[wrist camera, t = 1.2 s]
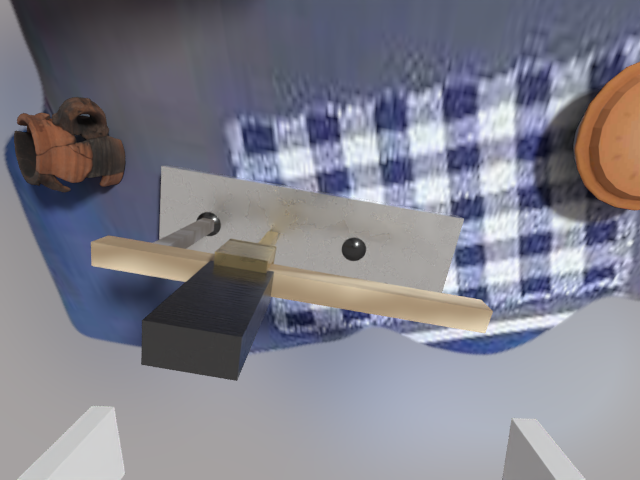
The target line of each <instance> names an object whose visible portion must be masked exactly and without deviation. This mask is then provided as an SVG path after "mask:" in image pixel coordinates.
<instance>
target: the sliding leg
mask: <svg viewBox="0 0 640 480" xmlns="http://www.w3.org/2000/svg"><path fill="white" fill-rule="evenodd" d="M277 238H278V232H272V231H268V232H267V233H266V234H265V236H264V237H263V238H262V239H261V240H260V242H259V243H254V242H248V241H243V240H237V239H229V240H228V241H227V242H226V243H225V244H224V245H222V246H221V247H220V248H219V249H218V250H216V251H215V256H214V261H209V262H208V263H207V264H206V265H205V266H203V267H202V268H201V269H200V270H199V271H198V272H197V273H195V274H194V275H193V276H192V277H191V278H190V279H189V280H187V281H186V282H185V283H184V284H183V285H182V286H181V287H180V288H178V289H177V290H176V291H175V292H174V293H173V294H172V295H170V296H169V297H168V298H167V299H166V300H165V301H164V302H162V303H161V304H160V305H159V306H158V307H157V308H156V309H155V310H153V311H152V312H151V313H150V314H149V315H148V316H147V317H145V318H144V319H143V320H142V362H141V364H142V365H147V366H153V367H159V368H165V369H171V370H177V371H183V372H189V373H195V374H200V375H207V376H212V377H218V378H224V379H230V380H236V381H237V380H238V377H239V375H240V372H241V370H242V367H243V365H244V363H245V360H246V358H247V356H248V353H249V351H250V348H251V346H252V344H253V341H254V339H255V336H256V334H257V332H258V329H259V327H260V324H261V322H262V320H263V317H264V315H265V312H266V310H267V308H268V305H269V303H270V298H271V291H272V284H273V277H274V271H268V269H269V267H270V266H271V264H274V260H275V254H276V247H277V246H275V244H276V243H277Z"/></svg>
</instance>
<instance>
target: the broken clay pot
mask: <svg viewBox="0 0 640 480" xmlns="http://www.w3.org/2000/svg"><path fill="white" fill-rule="evenodd" d="M81 114H89V115H90V117H87V116H79V115H81ZM17 123H18V124H19V125H23V126H27V132H21V131H15V133H14V143H15V152H16V157H17V160H18V164H19V168H20V170H21V173H22V175H23V177H24V179H25V180H26V181H27V182H28V183H29V184H31V185H38V186H40V184H43V185H44V186H46V187H48V188H50V189H52V190H57V191H61V192H68V191H70V190H71V189H70V188H69V187H67V186H64V185H62V184H61V183H60V182H59V181H58V180H57V178H56V177H58V178H61V179H63V180H66V181H69V182H71V183H77V182H82V181H83V180H84V179H85V178H86V177H87V178H93V177H99V176H102V180H101V182H100V185H101V186H103V187H105V186H110V185H114V184H118V183H119V182H120V181H121V179H122V177H123V172H124V168H125V151H124V147H123V144H122V142H121V140H119V139H115V138H113V137H109V136H107V134H108V133H109V128H108V127H107V123H106V117H105V114H104V112H103V111H102V109H101V108H100V107H99V106H98V105H97V104H96V103H94V102H92V101H91V100H90V99H88V98H79V97H74V98H70V99H67V100H66V101H64V102H63V104H62V105H61V106H60V108H59V110H58V112H57V113H55V114H53V115H52V119H50V115H49V114H46V113H38V114H36V115H35V116H34V115H28V114H25V113H23V114H21V115H19V117H18V119H17ZM74 135H81V136H82V137H83V138H84V139H86V141H83V142H77V143H76V138H75V136H74ZM55 176H56V177H55Z"/></svg>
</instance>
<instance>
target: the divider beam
mask: <svg viewBox="0 0 640 480" xmlns="http://www.w3.org/2000/svg"><path fill="white" fill-rule="evenodd" d="M214 221H215V220H213V219H208V218H202V219H200V220H198V221H196V222H194V223H192V224H190V225H188V226H186V227H184V228H182V229H180V230H178V231H176V232H174V233H172V234H170V235H168V236H166V237H164V238H162V239H160V240H158V241H156V242H154V243H149V242H143V241H137V240H131V239H126V238H120V237H114V236H106V237H103V238H101V239H98V240H95V241H92V242H91V259H92V266H96V267H102V268H107V269H113V270H119V271H125V272H131V273H137V274H142V275H148V276H154V277H160V278H166V279H172V280H177V281H183V282H186V281H187V280H189V279H190V278H191V277H192V276H193V275H194V274H195V273H197V272H198V271H199V270H200V269H201V268H202V267H203V266H205V265H206V264H207V263H208V262H209V261H214V256H215V254H212V253H207V252H201V251H195V250H189V249H187V248H188V247H190V246H191V245H193V244H194V243H196V242H197V241H199V240H200V239H202V238H203V237H205V236H207V235H208V234H210V233H211V232H213V231H214ZM268 271H274V277H273V284H272V291H271V297H276V298H282V299H288V300H294V301H300V302H306V303H311V304H317V305H323V306H329V307H335V308H341V309H346V310H352V311H358V312H364V313H370V314H376V315H381V316H387V317H393V318H399V319H405V320H411V321H416V322H422V323H428V324H434V325H440V326H445V327H451V328H457V329H463V330H469V331H475V332H480V333H485V332H486V329H487V326H488V324H489V321H490V318H491V315H492V312H493V311H492V310H491V309H490V308H489V307H488V306H487V305H486V304H485V303H484V302H483V301H482V300H479V299H473V298H467V297H461V296H456V295H450V294H444V293H438V292H433V291H427V290H421V289H415V288H409V287H404V286H398V285H392V284H386V283H380V282H375V281H369V280H363V279H357V278H351V277H346V276H340V275H334V274H328V273H322V272H317V271H311V270H305V269H299V268H294V267H288V266H282V265H276V264H271V266H270V267H269V269H268Z"/></svg>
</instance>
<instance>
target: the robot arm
mask: <svg viewBox="0 0 640 480" xmlns="http://www.w3.org/2000/svg"><path fill="white" fill-rule="evenodd" d="M124 474H125V469H124V463H123V457H122V452H121V445H120V439H119V434H118V427H117V421H116V415H115V410H114V407H109V406H92V407H90V409H88V411H86V413H84V414H83V415H82V416H81V417H80V418H79V419H78V420H77V421H76V422H75V423H74V424H73V425H72V426H71V427H70V428H69V429H68V430H67V431H66V432H65V433H64V434H63V435H62V436H61V437H60V438H59V439H58V440H57V441H56V442H55V443H54V444H53V445H52V446H51V447H50V448H49V449H48V450H47V451H46V452H45V453H44V454H43V455H42V456H41V457H40V458H39V459H38V460H37V461H35V462H34V463H33V464H32V465H31V466H30V467H29V468H28V469H27V470H26V471H25V472H24V473H23V474H22V475H21V476H20V477H19V478H18V479H17V480H121V478H122V477H123V475H124ZM502 480H586V479H585V478H584V477H583V476H582V475H581V473H580V472H579V471H578V470H577V469H576V467H575V466H574V465H573V464H572V462H570V460H569V459H568V457H567V456H566V455H565V454H564V453H563V451H562V450H561V449H560V448H559V446H558V445H557V444H556V443H555V442H554V440H553V439H552V438H551V437H550V435H549V434H548V433H547V432H546V431H545V429H544V428H543V427H542V426H541V425H540V423H539V422H538V421H537V420H536V419H515V418H512V420H511V426H510V433H509V439H508V445H507V452H506V458H505V465H504V471H503V478H502Z"/></svg>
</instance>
